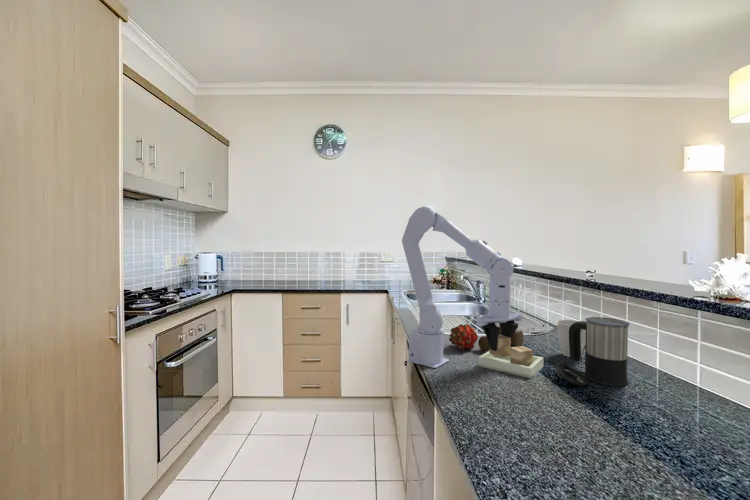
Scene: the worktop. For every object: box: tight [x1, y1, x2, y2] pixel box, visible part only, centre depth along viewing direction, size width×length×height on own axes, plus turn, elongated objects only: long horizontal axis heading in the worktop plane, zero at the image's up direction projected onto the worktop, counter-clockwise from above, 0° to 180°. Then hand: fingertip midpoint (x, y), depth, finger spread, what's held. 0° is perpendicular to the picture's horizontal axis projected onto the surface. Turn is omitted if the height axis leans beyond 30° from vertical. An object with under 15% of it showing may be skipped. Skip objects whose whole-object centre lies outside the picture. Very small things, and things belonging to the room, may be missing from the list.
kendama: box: [478, 324, 524, 353], centre depth 117 cm, size 6×10×20 cm
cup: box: [556, 319, 586, 358], centre depth 107 cm, size 8×8×10 cm
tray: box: [477, 351, 545, 379], centre depth 98 cm, size 14×11×2 cm
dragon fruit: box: [448, 323, 479, 351], centre depth 115 cm, size 8×8×12 cm
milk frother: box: [555, 316, 630, 387], centre depth 88 cm, size 14×16×15 cm
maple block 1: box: [489, 334, 512, 358], centre depth 99 cm, size 4×4×5 cm
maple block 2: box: [510, 345, 534, 367], centre depth 95 cm, size 4×4×5 cm
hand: (499, 348), depth 99 cm, fingers closed on maple block 1, 4 cm apart
